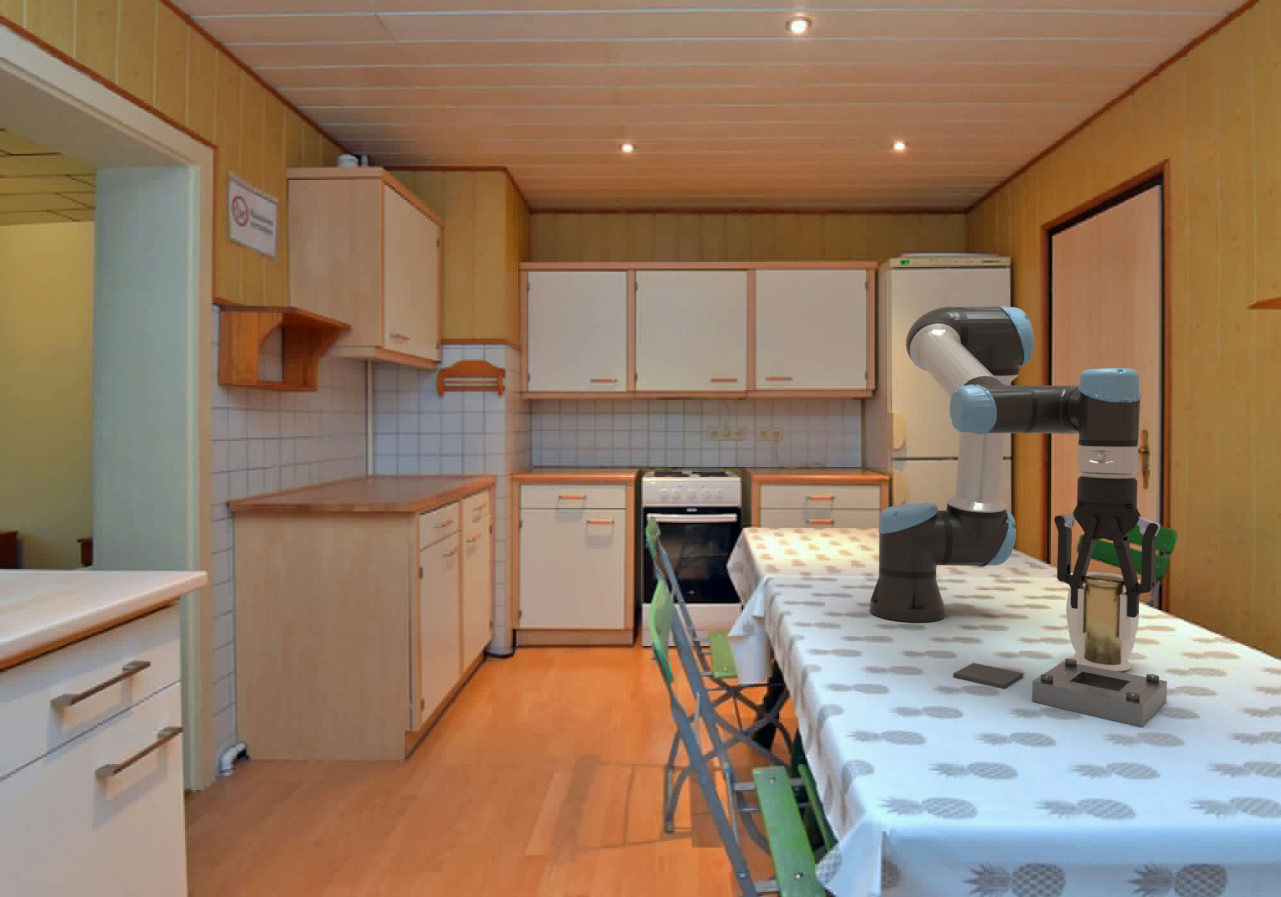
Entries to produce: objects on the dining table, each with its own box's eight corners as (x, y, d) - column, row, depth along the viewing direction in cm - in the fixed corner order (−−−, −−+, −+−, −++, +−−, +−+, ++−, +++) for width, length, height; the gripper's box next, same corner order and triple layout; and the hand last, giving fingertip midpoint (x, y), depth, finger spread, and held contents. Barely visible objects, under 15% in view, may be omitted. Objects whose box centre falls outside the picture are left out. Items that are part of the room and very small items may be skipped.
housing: (1032, 701, 117) (1032, 675, 117) (1063, 679, 127) (1063, 656, 127) (1142, 727, 108) (1142, 699, 107) (1166, 701, 118) (1167, 675, 117)
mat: (953, 677, 129) (953, 673, 129) (973, 666, 134) (973, 662, 134) (1004, 688, 123) (1004, 684, 123) (1023, 677, 129) (1023, 673, 129)
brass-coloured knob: (1077, 659, 117) (1079, 578, 117) (1088, 652, 121) (1090, 573, 120) (1117, 667, 113) (1119, 583, 113) (1127, 660, 117) (1129, 578, 117)
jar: (1129, 659, 138) (1131, 573, 138) (1145, 677, 129) (1147, 584, 128) (1060, 653, 142) (1062, 569, 141) (1071, 670, 132) (1073, 580, 132)
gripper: (1033, 473, 120) (1029, 628, 120) (1173, 480, 107) (1169, 652, 108) (1050, 471, 125) (1046, 619, 126) (1185, 477, 113) (1181, 642, 113)
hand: (1103, 634), depth 117 cm, fingers closed on brass-coloured knob, 5 cm apart
